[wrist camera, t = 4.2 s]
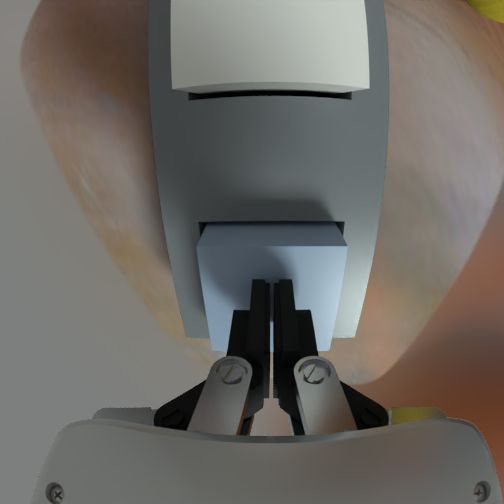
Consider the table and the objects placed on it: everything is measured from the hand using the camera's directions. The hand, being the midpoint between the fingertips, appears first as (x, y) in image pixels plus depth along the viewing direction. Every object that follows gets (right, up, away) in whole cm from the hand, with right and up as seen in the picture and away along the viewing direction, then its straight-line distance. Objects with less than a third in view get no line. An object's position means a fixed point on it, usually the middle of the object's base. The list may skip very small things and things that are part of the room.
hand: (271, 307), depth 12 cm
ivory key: (0, +12, -2) cm, 12 cm away
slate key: (0, +2, +4) cm, 5 cm away
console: (0, +8, +3) cm, 8 cm away
